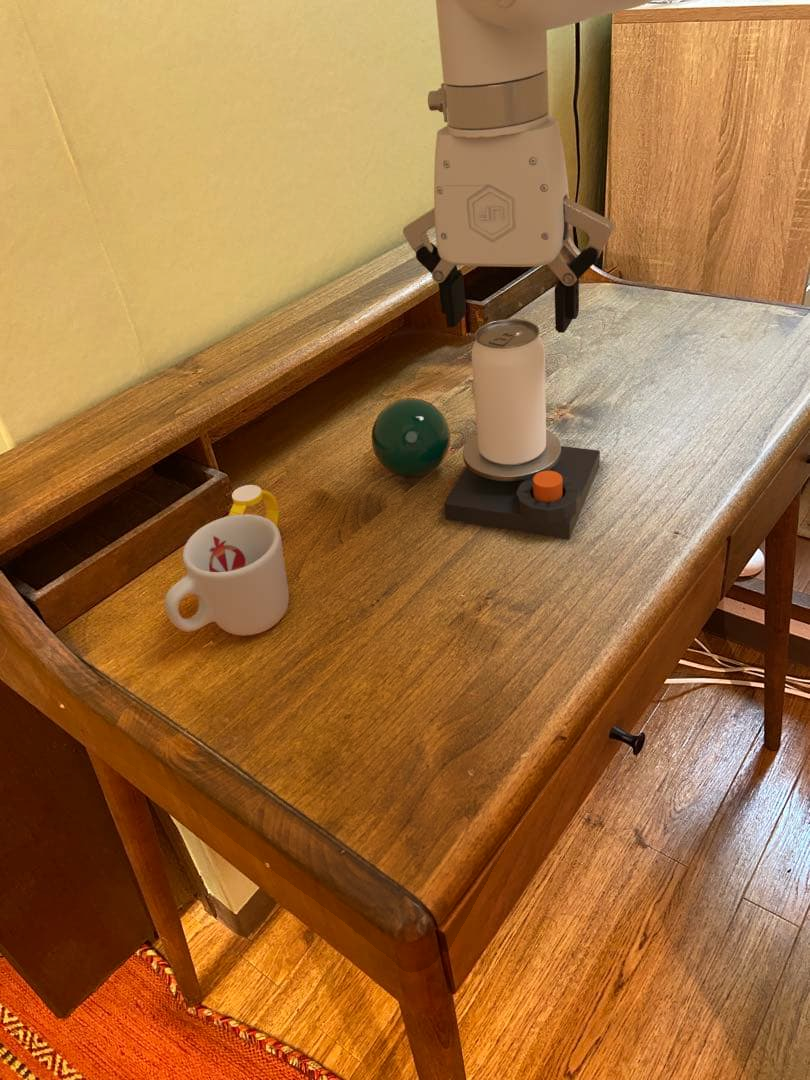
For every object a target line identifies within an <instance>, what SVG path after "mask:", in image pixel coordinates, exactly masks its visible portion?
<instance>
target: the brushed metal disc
mask: <svg viewBox="0 0 810 1080" xmlns="http://www.w3.org/2000/svg"><path fill="white" fill-rule="evenodd" d="M561 446H562V445H561V441H560V440H559V438H558V437H557V435H555V434H554V433H553V432H551V431H550V430H549V429H546V447H545V449H544V451H543V452H542V453H541V454H540V455H539V456H538V457H537V458H536V459H534V460H533V461H531V462H528V463H525V464H521V465H514V466H506V465H499V464H495V463H492V462H490V461H489V460H487V459H486V458H485V457H484V456H483V455H482V454H481V453H480V451H479V447H478V436H477V432H476V433H475V434H473V435H472V436H471V437H470V438H468V440H466V442H465V443H464V446H463V448H462V459H463V462H464V465H465V466H466V467H468V468H469V469H470V470H471V471H472V472H473V473H475V474H477V475H479V476H481V477H484V478H487V479H491V480H496V481H520V480H526V479H530V478H533V477H534V476H535V475H536V474H537V473H539V472H542V471H549V470H550V469H552V468H553V467H554V466H555V465H556V464H557V462H558V461H559V459H560V456H561Z"/></svg>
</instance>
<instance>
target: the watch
mask: <svg viewBox="0 0 810 1080" xmlns="http://www.w3.org/2000/svg"><path fill="white" fill-rule="evenodd" d="M231 498H232V503H233V504H232V506H231V508H230V510H229V513H228V516H231V515H238V514H245V512H246V510H247V508H248V507H253V506H255V505H257V504H259V503H260V502H261V501H262V500H263V503H264V506H265V518H267V519H269V520H270V521H272V522H273V523H274V524H275V525H276V526H277V527H278V525H279V517H280V516H279V515H280V509H279V506H278V502H277V499H276V497H275V496H274V495H273V494H272V493H271V492H270V491H268V490H264V489H262V488H261V487H260V486H259V485H256V484H246V485H242V486H240V487H237V488H236V489H235V490H233V492H232V493H231Z"/></svg>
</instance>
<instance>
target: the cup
mask: <svg viewBox="0 0 810 1080" xmlns="http://www.w3.org/2000/svg"><path fill="white" fill-rule="evenodd" d="M182 562H183V566H184V568H185V569H186V574H185V575H184V576H183V577H182V578H181V579H179V580H178V581H177V582H175V583H174V584H173V585H172V586H171V587H170V588H169V589H168V591H167V593H166V594H165V597H164V610H165V613H166V616H167V618H168V619H169V621H170V622H171V623H172V624H173V625H174V626H175V627H176V628H178V629H179V630H180V631H183V632H187V633H188V632H189V633H190V632H195V631H198V630H199V629H202V628H203V627H205V626H207V625H208V624H210V623H216V625H217V626H218V627H219V628H221V629H222V630H223V631H225V632H227V633H228V634H232V635H235V636H252V635H258V634H260V633H264V632H265V631H267V630H269V629H271V628H272V627H274V626H275V625H277V624H278V623H279V622H280V621H281V620H282V619H283V617H284V616H285V615H286V612H287V610H288V608H289V607H288V606H289V601H290V591H289V585H288V577H287V569H286V564H285V556H284V550H283V544H282V536H281V532H280V530H279V528H278V525H277V526H276V525H275V524H274V523H273V522H272V521H270V520H269V519H267V518H266V516H262V515H258V514H253V513H252V514H250V513H244V514H238V515H231V516H229V515H227V516H223V517H220V518H218V519H215V520H213V521H210V522H208V523H207V524H204V525H203V526H202V527H200V528H198V529H197V530H196V531H195V532H194V533H193V534H192V535H191V536H190V537H189V538H188V540H187V541H186V543H185V545H184V546H183V550H182ZM189 595H196V598H197V600H198V608H197V611H196V612H195V613H194V614H193V615H192V616H191V617H189V618H184V617H182V616H181V614H180V612H179V605H180V603H181V601H182V600H183V599H184V598H185V597H187V596H189Z"/></svg>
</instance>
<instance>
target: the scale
mask: <svg viewBox="0 0 810 1080" xmlns="http://www.w3.org/2000/svg"><path fill="white" fill-rule="evenodd" d="M600 459H601V450H598V449H591V448H580V447H573V446H566V445H565V446H564V445H561V456H560V459H559V461H558V462H557V464H556V465H555V466H554V467H553V468H552V469H550V470H549V471H555V472H557V473H559V474H560V475H561V476H562V478H563V495H562V497H561V498H560V499H559V500H557V501H552V502H544V501H538V500H536V499H535V498H534V496H533V478H530V479H526V480H520V481H496V480H491V479H487V478H484V477H481V476H479V475H477V474H475V473H473V472H472V471H471V470H470V469H469V468H468V467H467V466H466V467H465V468H464V469H463V471H462V473H461V474H460V476H459V478H458V480H456V482H455V485H454V486H453V488H452V489H451V491H450V493H449V494H448V496H447V498H446V499H445V501H444V502H443V509H444V511H443V512H444V519H445V520H448V521H453V522H460V523H465V524H473V525H480V526H486V527H491V528H496V529H497V528H498V529H505V530H509V531H515V532H516V531H517V532H523V533H528V534H529V533H530V534H536V535H542V536H549V537H554V538H561V539H566V540H570V539H571V536H572V534H573V532H574V529H575V527H576V525H577V522H578V520H579V517H580V515H581V512H582V510H583V508H584V505H585V502H586V500H587V497H588V496H589V492H590V490H591V488H592V486H593V483H594V481H595V478H596V476H597V474H598V471H599V469H600V462H601V461H600Z"/></svg>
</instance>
